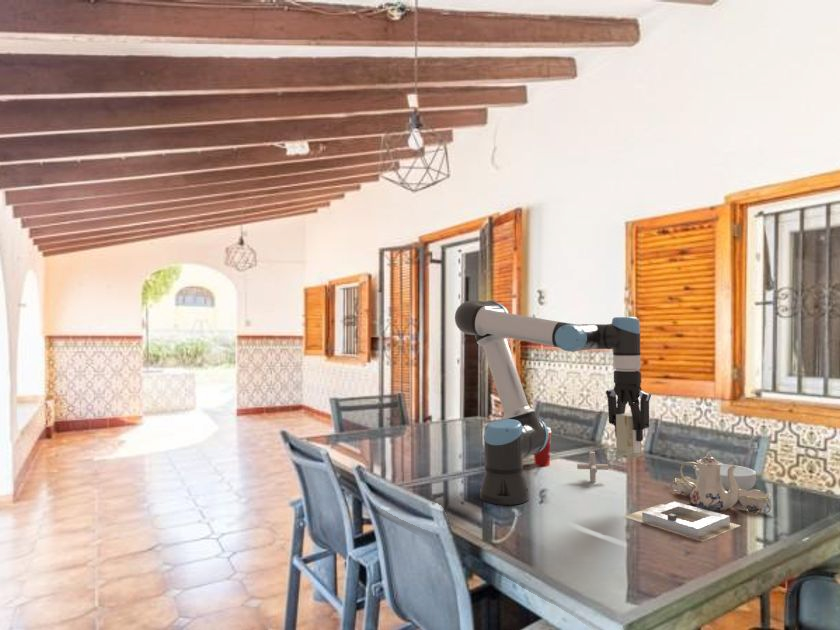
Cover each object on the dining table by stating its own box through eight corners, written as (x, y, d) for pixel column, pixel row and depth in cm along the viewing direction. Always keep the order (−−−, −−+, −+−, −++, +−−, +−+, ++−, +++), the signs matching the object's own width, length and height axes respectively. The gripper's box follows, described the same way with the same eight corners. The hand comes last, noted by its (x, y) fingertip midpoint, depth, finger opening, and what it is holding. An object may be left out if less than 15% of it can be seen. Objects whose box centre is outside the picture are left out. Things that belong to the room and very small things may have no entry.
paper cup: (556, 465, 209) (555, 428, 209) (539, 467, 206) (538, 430, 206) (544, 461, 216) (543, 425, 216) (527, 463, 213) (527, 427, 214)
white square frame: (698, 539, 132) (697, 524, 132) (642, 521, 145) (642, 508, 145) (729, 525, 141) (729, 512, 141) (674, 510, 153) (674, 497, 153)
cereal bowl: (747, 485, 179) (746, 464, 179) (764, 501, 163) (763, 477, 163) (690, 482, 184) (690, 461, 184) (701, 497, 168) (701, 474, 168)
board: (703, 545, 131) (703, 541, 131) (623, 520, 149) (623, 516, 149) (740, 529, 141) (740, 525, 141) (661, 507, 159) (661, 503, 159)
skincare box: (628, 459, 155) (627, 416, 156) (615, 456, 159) (614, 414, 159) (642, 456, 159) (641, 413, 159) (629, 453, 162) (628, 412, 163)
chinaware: (779, 517, 154) (778, 457, 156) (761, 526, 143) (761, 461, 144) (676, 496, 174) (676, 443, 176) (654, 503, 163) (655, 446, 164)
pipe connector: (610, 486, 181) (609, 455, 181) (578, 485, 183) (578, 455, 183) (606, 478, 190) (605, 449, 191) (576, 477, 192) (575, 448, 193)
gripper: (662, 370, 154) (664, 454, 154) (609, 367, 169) (611, 444, 168) (646, 372, 150) (648, 458, 150) (594, 369, 165) (595, 447, 164)
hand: (629, 450), depth 159 cm, fingers closed on skincare box, 4 cm apart
